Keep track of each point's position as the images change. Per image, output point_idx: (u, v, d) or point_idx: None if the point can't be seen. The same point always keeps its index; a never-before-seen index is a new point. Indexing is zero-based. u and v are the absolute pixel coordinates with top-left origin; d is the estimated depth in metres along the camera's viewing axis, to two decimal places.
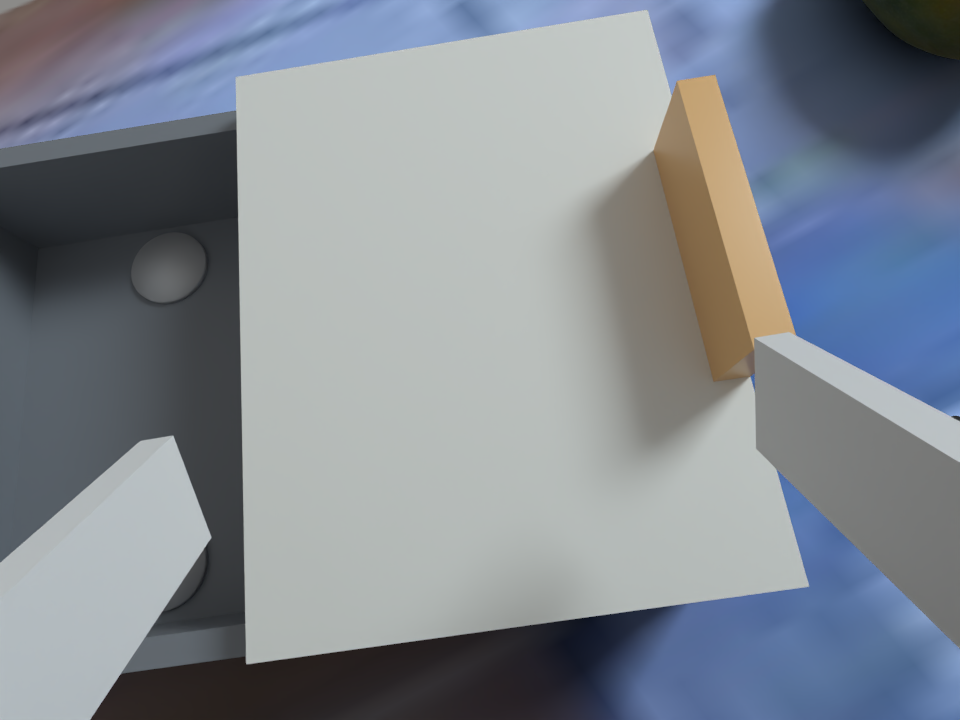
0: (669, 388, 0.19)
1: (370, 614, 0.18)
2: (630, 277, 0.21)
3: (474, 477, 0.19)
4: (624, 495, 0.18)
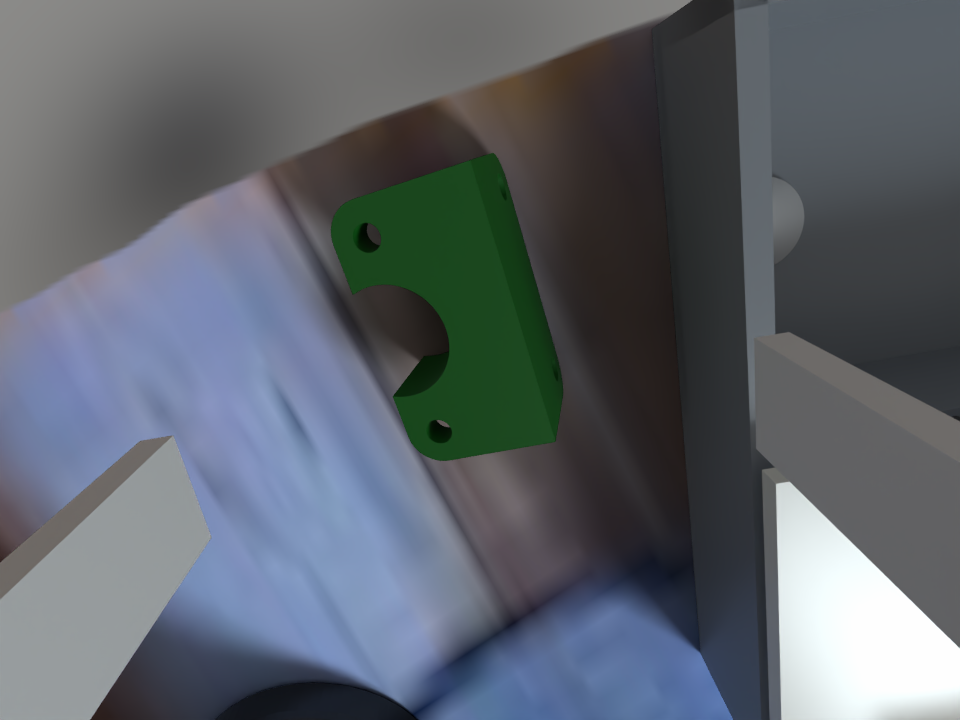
0: None
1: (802, 571, 0.21)
2: None
3: (897, 634, 0.23)
4: None
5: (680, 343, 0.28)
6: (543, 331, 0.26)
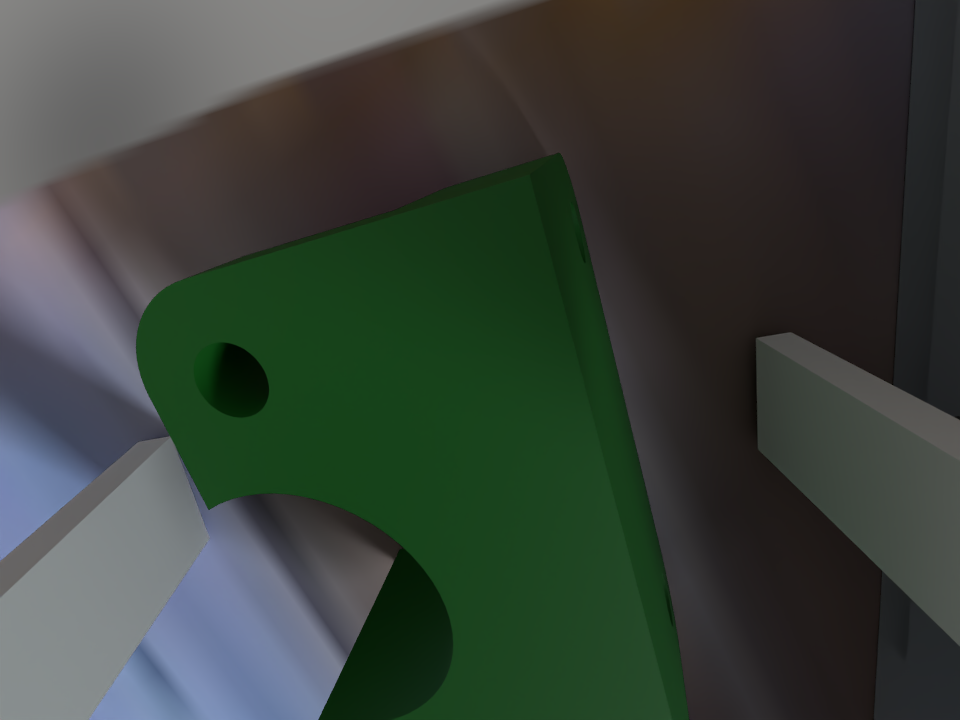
0: None
1: None
2: None
3: None
4: None
5: None
6: (651, 533, 0.12)
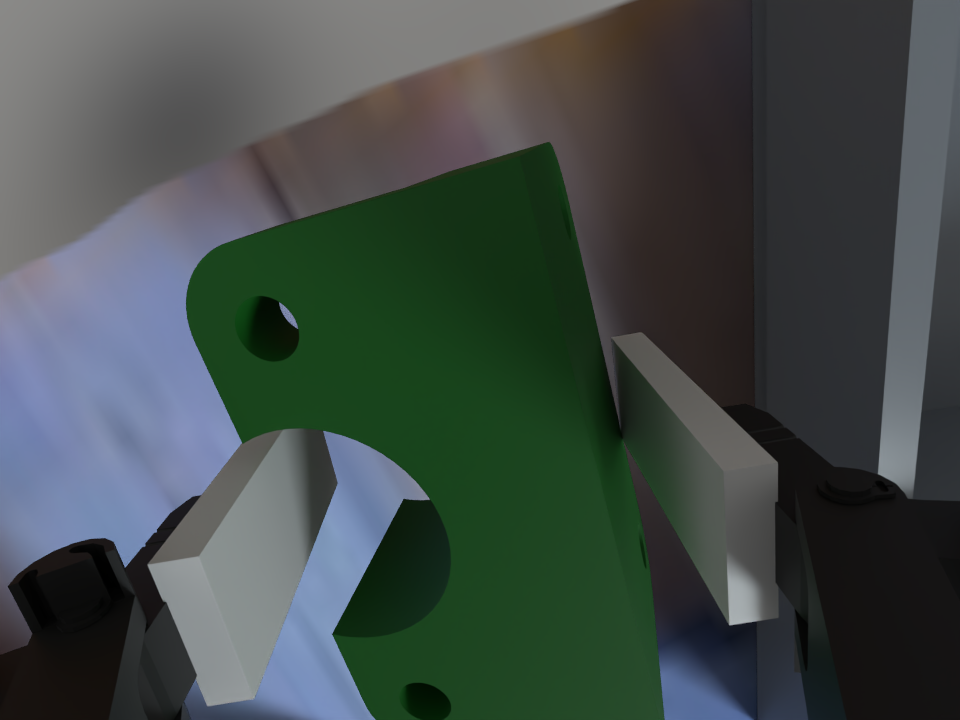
0: None
1: None
2: None
3: None
4: None
5: (761, 371, 0.22)
6: (627, 483, 0.14)
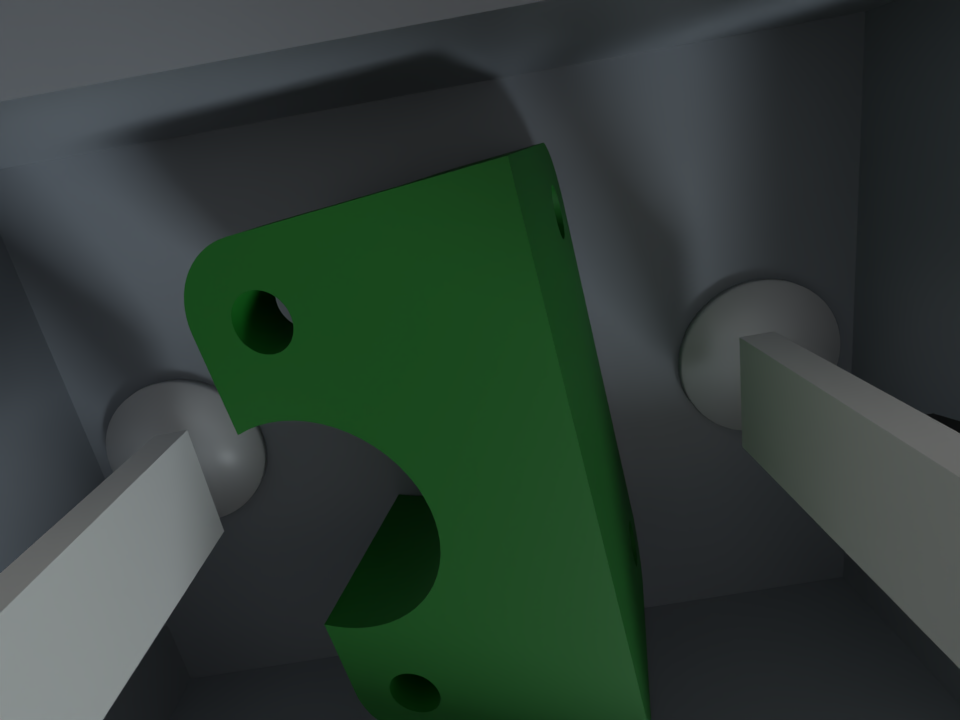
0: None
1: None
2: None
3: None
4: None
5: None
6: (618, 481, 0.14)
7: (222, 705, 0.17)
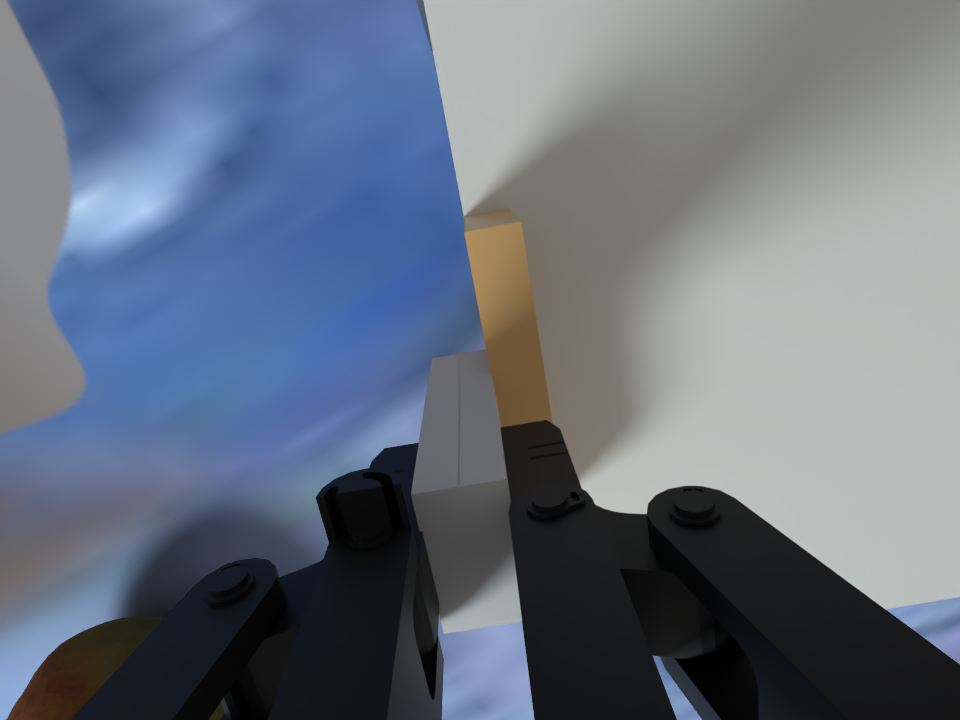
0: (563, 197, 0.15)
1: None
2: (596, 341, 0.17)
3: (821, 67, 0.15)
4: (632, 49, 0.14)
5: None
6: None
7: None
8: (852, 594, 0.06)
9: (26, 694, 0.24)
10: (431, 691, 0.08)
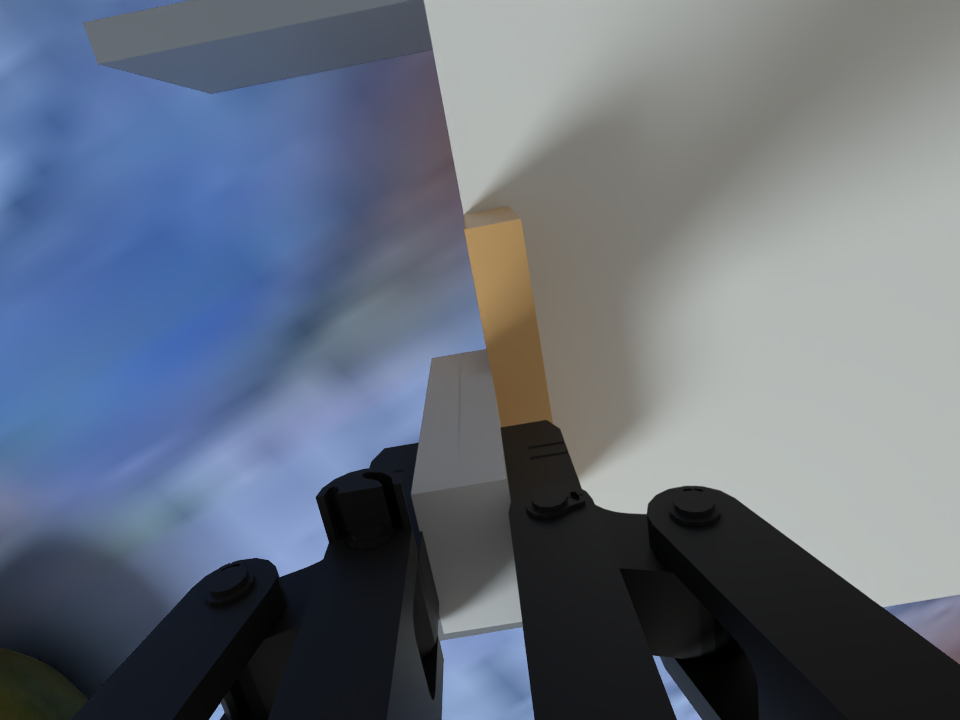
0: (563, 195, 0.15)
1: None
2: (596, 339, 0.17)
3: (821, 64, 0.15)
4: (632, 46, 0.14)
5: None
6: None
7: None
8: (852, 594, 0.06)
9: None
10: (431, 691, 0.08)
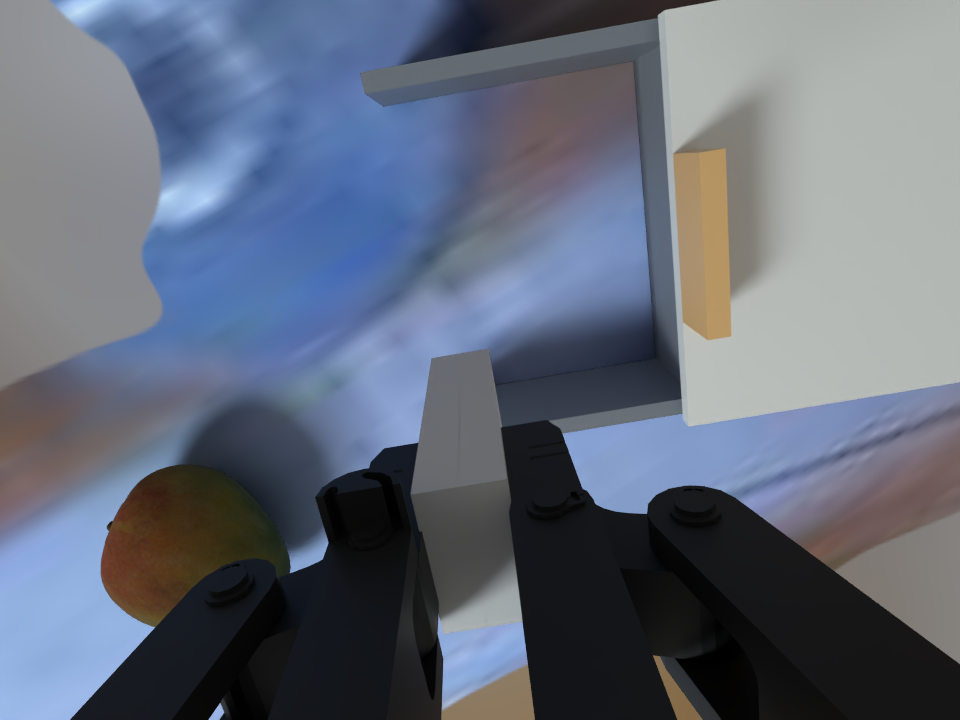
0: (724, 144, 0.30)
1: None
2: (735, 224, 0.31)
3: (860, 78, 0.29)
4: (766, 68, 0.29)
5: None
6: None
7: None
8: (852, 594, 0.06)
9: (129, 498, 0.38)
10: (431, 691, 0.08)
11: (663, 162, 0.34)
